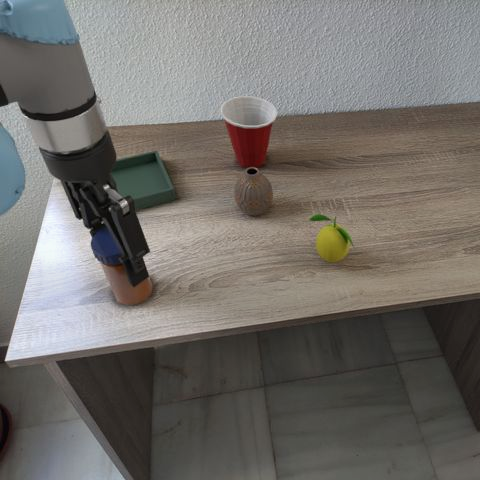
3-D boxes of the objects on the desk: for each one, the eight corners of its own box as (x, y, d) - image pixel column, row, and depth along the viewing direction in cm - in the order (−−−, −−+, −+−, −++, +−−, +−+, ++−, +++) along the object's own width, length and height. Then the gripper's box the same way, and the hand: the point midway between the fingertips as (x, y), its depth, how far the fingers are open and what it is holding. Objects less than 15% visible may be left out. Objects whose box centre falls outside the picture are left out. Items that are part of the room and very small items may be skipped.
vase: (249, 226, 84) (245, 189, 78) (229, 205, 88) (224, 168, 81) (280, 211, 87) (279, 173, 81) (260, 191, 91) (257, 154, 84)
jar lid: (144, 233, 68) (141, 223, 67) (134, 265, 64) (131, 256, 63) (101, 232, 68) (97, 223, 67) (88, 265, 64) (84, 255, 62)
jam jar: (119, 310, 70) (98, 264, 63) (111, 284, 74) (90, 237, 66) (156, 297, 72) (140, 251, 65) (147, 272, 76) (131, 225, 68)
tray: (91, 222, 83) (86, 211, 81) (80, 179, 91) (76, 168, 89) (176, 199, 88) (174, 188, 86) (159, 160, 96) (156, 150, 94)
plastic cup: (276, 177, 94) (274, 126, 85) (222, 175, 94) (215, 123, 85) (280, 146, 101) (279, 95, 93) (230, 143, 101) (224, 92, 92)
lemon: (307, 248, 81) (309, 205, 74) (339, 241, 82) (344, 198, 75) (320, 277, 77) (323, 234, 69) (353, 269, 78) (360, 226, 71)
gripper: (154, 155, 51) (188, 286, 68) (57, 94, 59) (109, 226, 75) (93, 188, 47) (145, 320, 63) (-4, 118, 54) (66, 252, 71)
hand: (125, 268), depth 69 cm, fingers closed on jar lid, 6 cm apart
